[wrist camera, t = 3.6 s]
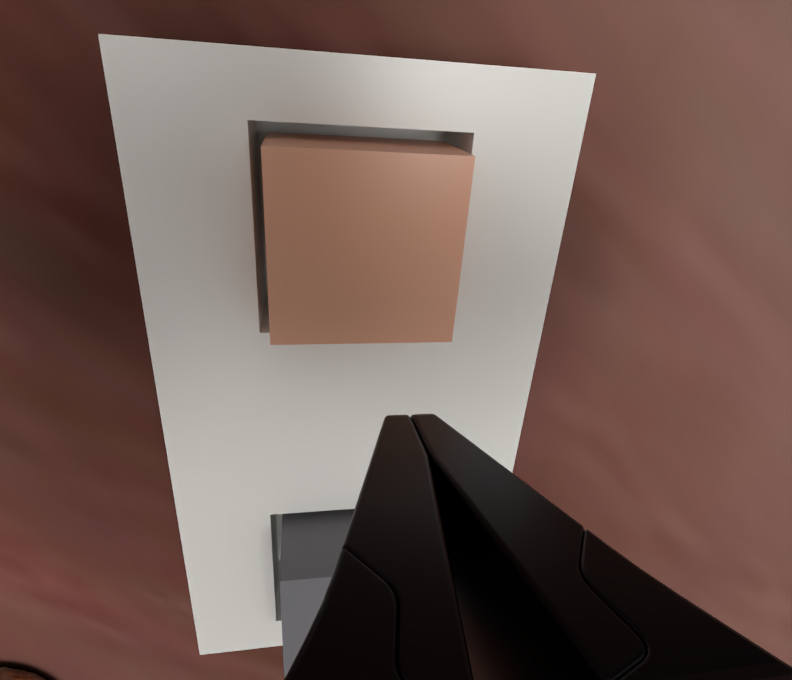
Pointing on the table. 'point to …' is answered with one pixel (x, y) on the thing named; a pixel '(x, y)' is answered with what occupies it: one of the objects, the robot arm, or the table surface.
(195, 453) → the white base plate
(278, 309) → the key
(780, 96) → the table surface
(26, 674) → the sauce bottle
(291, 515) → the key
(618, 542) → the table surface
